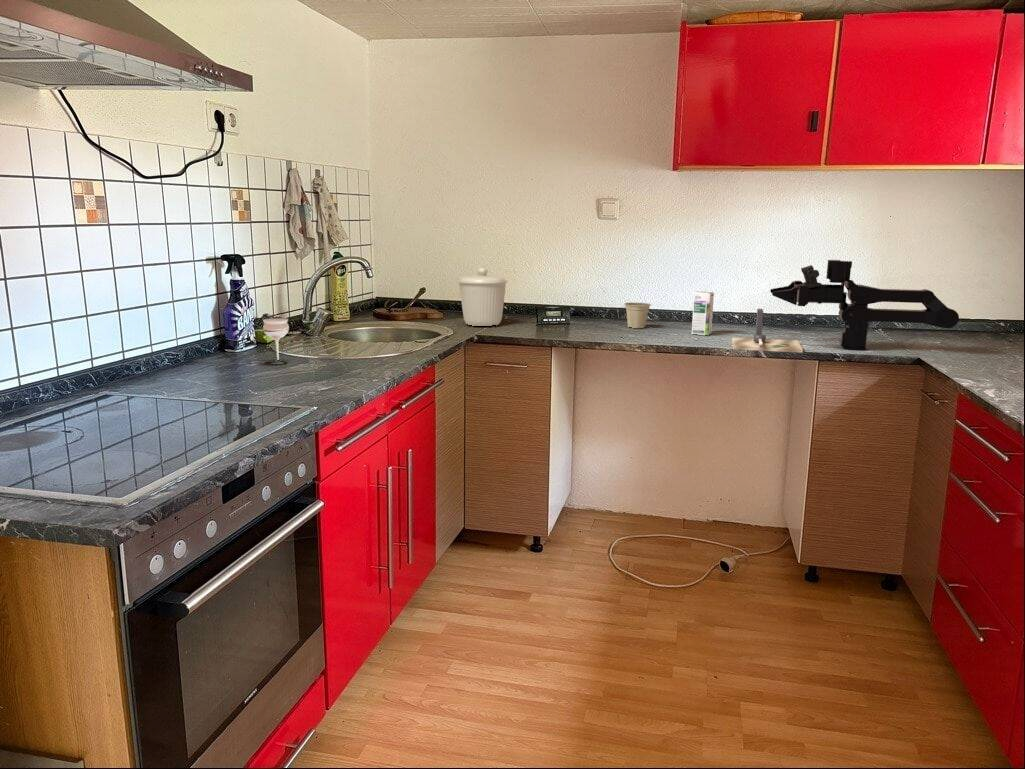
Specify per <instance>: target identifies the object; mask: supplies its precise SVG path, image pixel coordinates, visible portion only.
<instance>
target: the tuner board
mask: <svg viewBox="0 0 1025 769" xmlns="http://www.w3.org/2000/svg"><path fill="white" fill-rule="evenodd" d="M731 340H732V343H731V344H732V349H733V350H740V351H761V352H762V351H764V352H778V353H779V352H783V353H785V352H786V353H804V352H803V350H804V349H803V347H802V345H801V343H800V342H799V341H798V340H796V339H794V340H793V339H777V338H776V339H773V338H772V339H771V338H766V341H765V342H763V345H759V342H754V341H753V340H754V337H753V338H748V337H732V338H731Z"/></svg>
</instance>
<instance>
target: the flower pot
mask: <svg viewBox="0 0 1025 769" xmlns="http://www.w3.org/2000/svg"><path fill="white" fill-rule="evenodd" d="M650 306H652V304H651V303H647V302H624V307H625V310H626V320H627V321H626V322H627V328H629V327H632V328H631V329H634V328H637V329H640V328H643V329H645V328H646V324H647V319H648V314H649V313H648V312H649V310H650ZM644 327H645V328H644Z"/></svg>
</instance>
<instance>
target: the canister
mask: <svg viewBox="0 0 1025 769" xmlns="http://www.w3.org/2000/svg"><path fill="white" fill-rule="evenodd" d="M457 282H458V284H459V291H460V292H459V293H460V299H461V300H460V301H461V302H460V303H461V308H462V315H463V320H464V323H465V324H466V325H467V324H468V325H467V326H469V325H472V326H471V327H473V326H492V325H496V326H498V325H500V323H501V322H502V318H503V313H504V302H505V296H506V294H505V293H506V285H507V283H508V279H505V278H504V277H503V276H501V275H493V274H491V275H490V274H488V269H487V268H486V267H479V268H478V269H477V274H472V275H464V276H462V277H460V279H458V280H457ZM492 327H493V326H492Z"/></svg>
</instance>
